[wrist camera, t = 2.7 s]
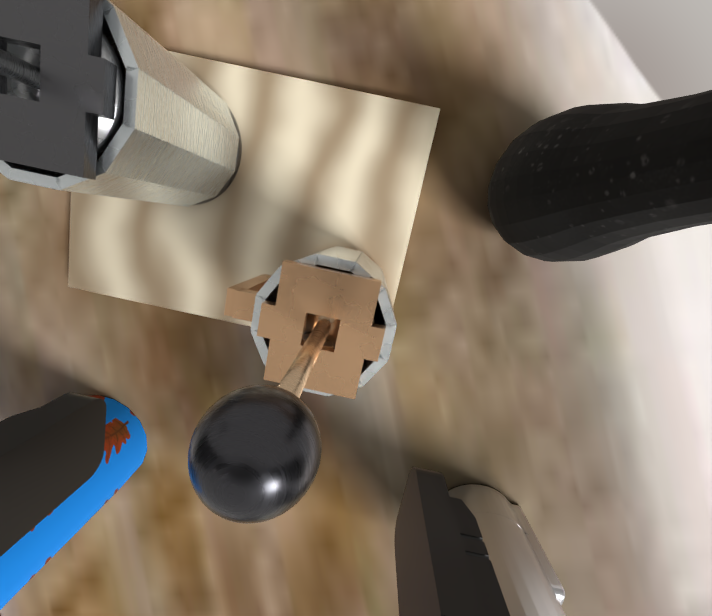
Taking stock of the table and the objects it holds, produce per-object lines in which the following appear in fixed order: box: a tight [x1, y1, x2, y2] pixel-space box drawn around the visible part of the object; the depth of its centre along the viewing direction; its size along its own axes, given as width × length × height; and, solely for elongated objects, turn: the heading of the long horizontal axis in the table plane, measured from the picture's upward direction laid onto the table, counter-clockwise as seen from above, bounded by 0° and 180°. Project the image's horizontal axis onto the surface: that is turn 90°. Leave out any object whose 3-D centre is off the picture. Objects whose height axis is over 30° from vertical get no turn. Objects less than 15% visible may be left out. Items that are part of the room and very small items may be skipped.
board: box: [68, 51, 440, 326], centre depth 33 cm, size 31×22×2 cm
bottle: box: [488, 90, 712, 262], centre depth 17 cm, size 11×11×30 cm
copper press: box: [224, 246, 397, 399], centre depth 27 cm, size 11×9×13 cm
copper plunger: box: [188, 313, 374, 523], centre depth 15 cm, size 6×6×15 cm
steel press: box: [0, 0, 242, 207], centre depth 24 cm, size 13×10×15 cm
